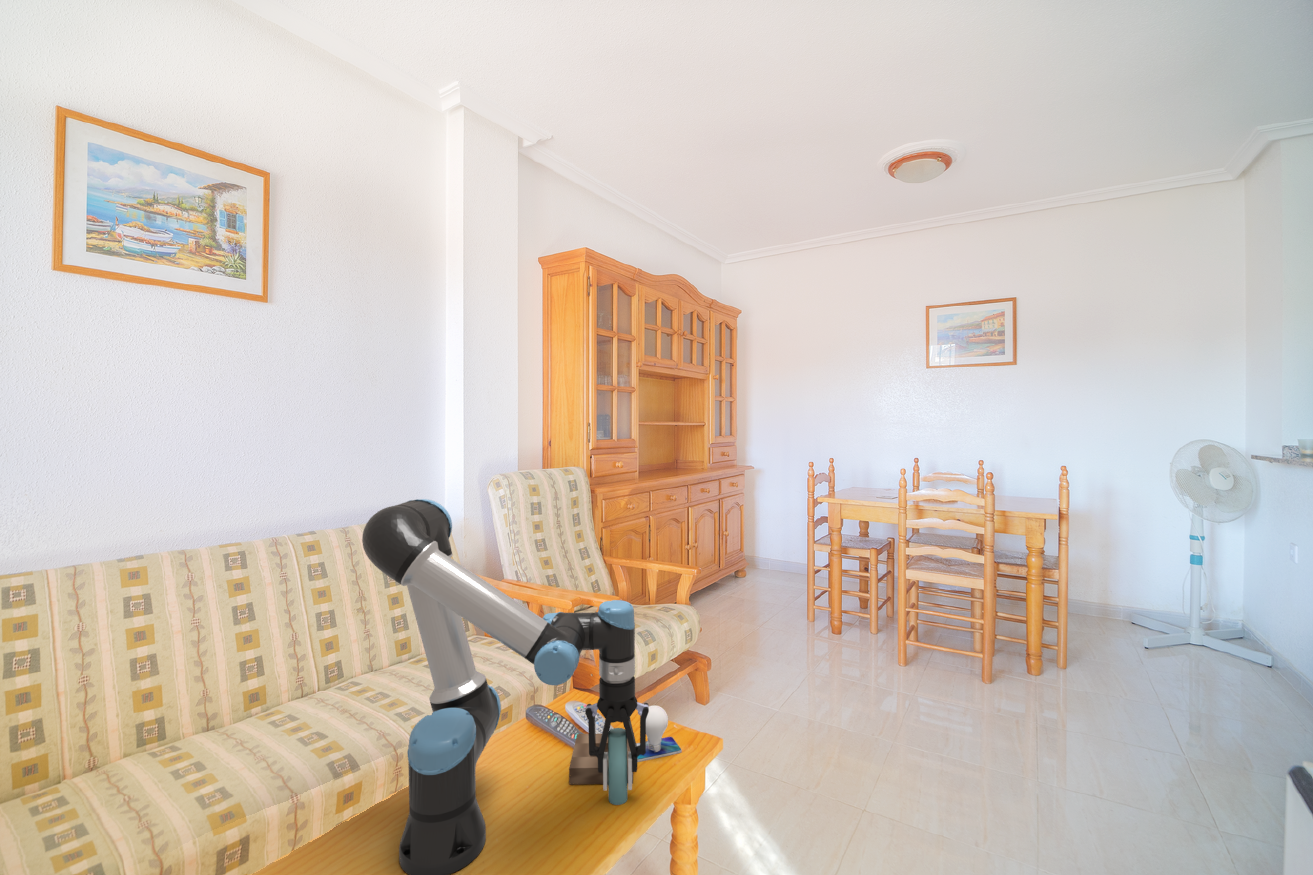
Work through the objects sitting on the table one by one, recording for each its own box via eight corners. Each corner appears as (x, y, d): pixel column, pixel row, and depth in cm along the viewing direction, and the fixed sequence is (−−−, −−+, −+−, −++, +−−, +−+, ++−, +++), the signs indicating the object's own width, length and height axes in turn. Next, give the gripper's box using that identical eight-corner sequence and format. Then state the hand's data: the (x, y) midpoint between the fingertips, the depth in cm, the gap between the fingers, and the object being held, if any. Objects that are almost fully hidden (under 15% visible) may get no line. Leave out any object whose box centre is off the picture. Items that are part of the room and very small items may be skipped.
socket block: (569, 784, 123) (569, 768, 123) (577, 748, 137) (577, 733, 137) (632, 783, 123) (632, 767, 123) (634, 747, 137) (634, 732, 137)
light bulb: (665, 761, 131) (665, 714, 131) (638, 758, 133) (637, 712, 132) (670, 745, 138) (670, 701, 138) (644, 742, 139) (644, 699, 139)
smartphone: (614, 747, 137) (672, 735, 142) (614, 750, 137) (672, 739, 142) (623, 763, 130) (682, 750, 135) (623, 766, 130) (682, 753, 135)
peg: (607, 805, 116) (607, 738, 116) (609, 792, 120) (608, 727, 120) (627, 804, 116) (626, 737, 116) (627, 792, 120) (627, 727, 120)
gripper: (573, 684, 114) (574, 798, 114) (659, 683, 114) (659, 796, 114) (577, 669, 121) (578, 775, 122) (658, 668, 122) (659, 774, 122)
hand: (617, 785), depth 118 cm, fingers open, 4 cm apart
